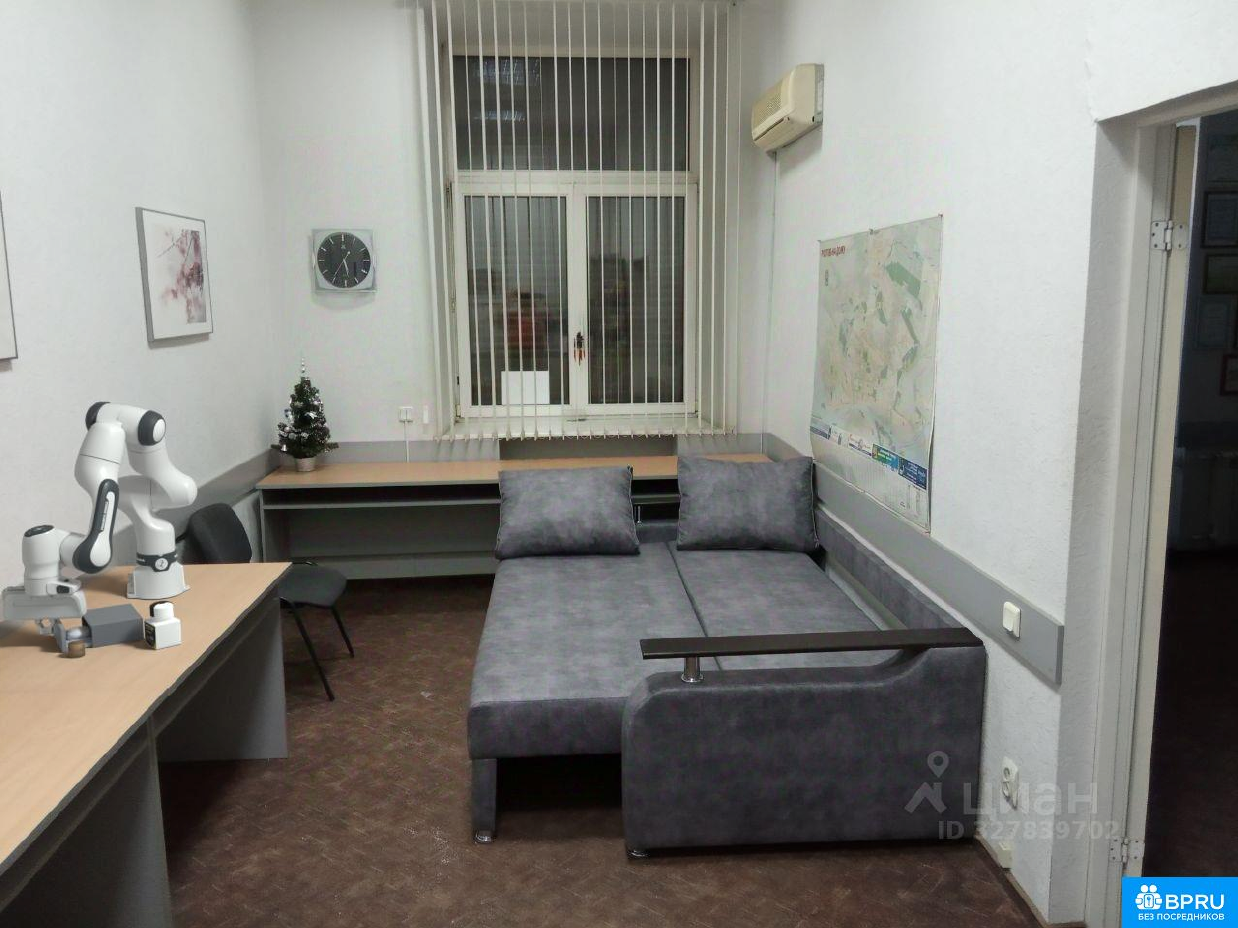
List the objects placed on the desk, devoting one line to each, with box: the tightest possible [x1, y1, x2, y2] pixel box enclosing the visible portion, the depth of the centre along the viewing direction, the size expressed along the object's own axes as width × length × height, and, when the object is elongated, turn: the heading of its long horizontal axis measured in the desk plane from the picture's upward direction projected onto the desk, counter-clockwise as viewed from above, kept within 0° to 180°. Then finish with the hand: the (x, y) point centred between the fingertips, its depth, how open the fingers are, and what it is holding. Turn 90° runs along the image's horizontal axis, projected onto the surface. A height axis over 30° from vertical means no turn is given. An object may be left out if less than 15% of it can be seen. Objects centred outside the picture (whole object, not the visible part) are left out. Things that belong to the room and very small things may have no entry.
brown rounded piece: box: [67, 641, 86, 659], centre depth 267 cm, size 4×4×4 cm
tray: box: [52, 619, 92, 653], centre depth 279 cm, size 16×13×6 cm
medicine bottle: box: [143, 600, 182, 651], centre depth 277 cm, size 7×7×12 cm
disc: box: [65, 625, 92, 641], centre depth 278 cm, size 6×6×2 cm
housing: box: [81, 603, 145, 649], centre depth 283 cm, size 16×13×6 cm
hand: (46, 633), depth 273 cm, fingers closed
